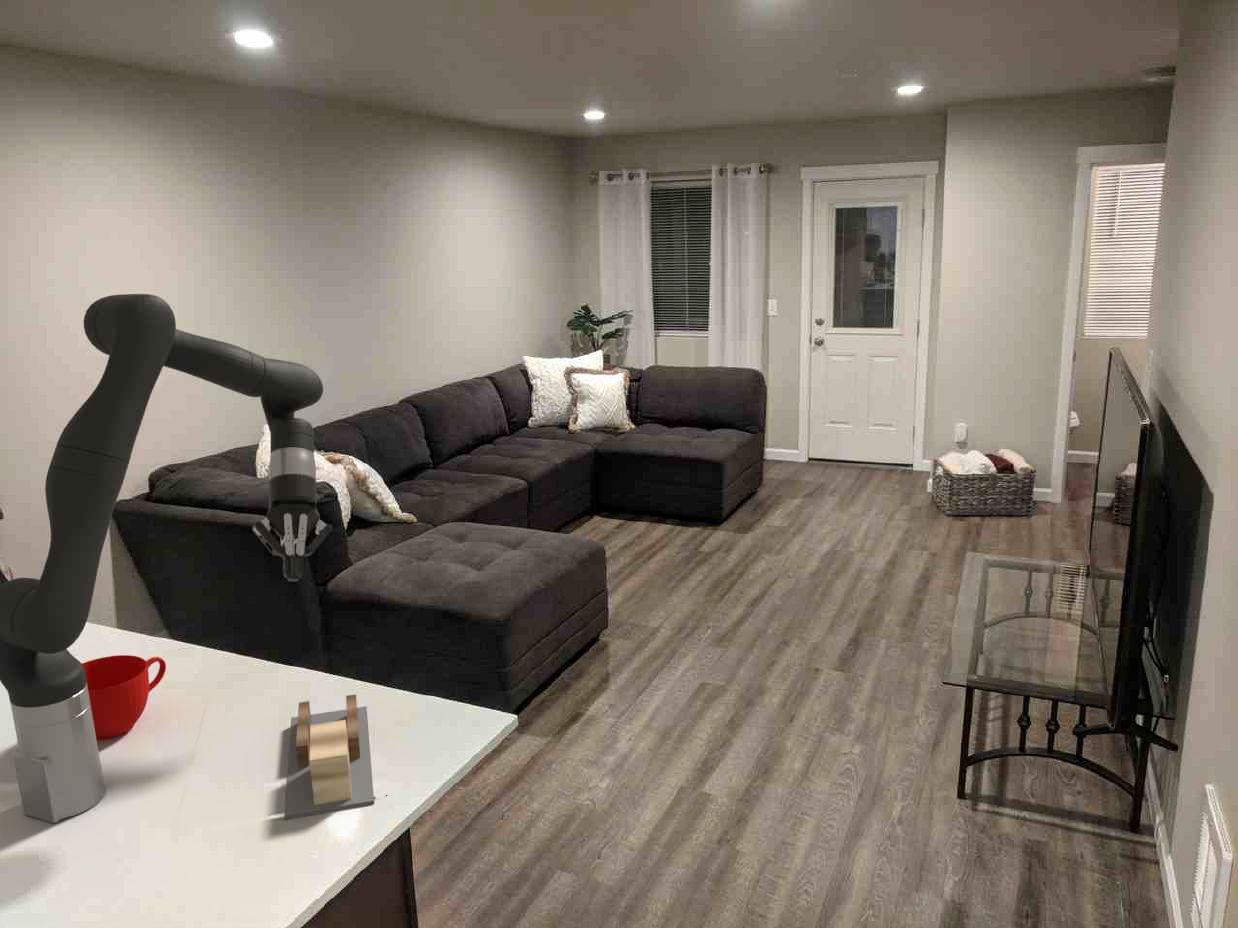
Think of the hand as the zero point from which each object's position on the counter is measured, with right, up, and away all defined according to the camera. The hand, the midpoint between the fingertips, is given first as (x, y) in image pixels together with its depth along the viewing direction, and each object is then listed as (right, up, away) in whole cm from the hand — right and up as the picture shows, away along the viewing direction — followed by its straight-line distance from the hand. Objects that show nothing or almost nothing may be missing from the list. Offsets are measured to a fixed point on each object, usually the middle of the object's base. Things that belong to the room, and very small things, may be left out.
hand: (293, 579), depth 152 cm
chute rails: (+7, -25, -4) cm, 26 cm away
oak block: (+11, -28, -15) cm, 33 cm away
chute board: (+8, -26, -8) cm, 29 cm away
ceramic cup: (-29, -24, +3) cm, 38 cm away
